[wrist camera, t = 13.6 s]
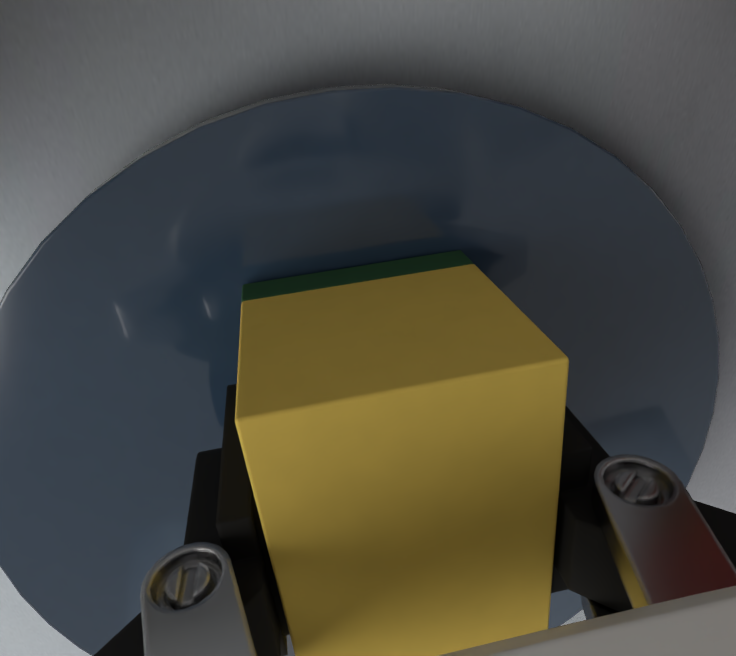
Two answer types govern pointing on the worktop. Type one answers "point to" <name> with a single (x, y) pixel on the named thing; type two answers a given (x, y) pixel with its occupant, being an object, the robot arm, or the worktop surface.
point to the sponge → (402, 455)
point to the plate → (306, 256)
